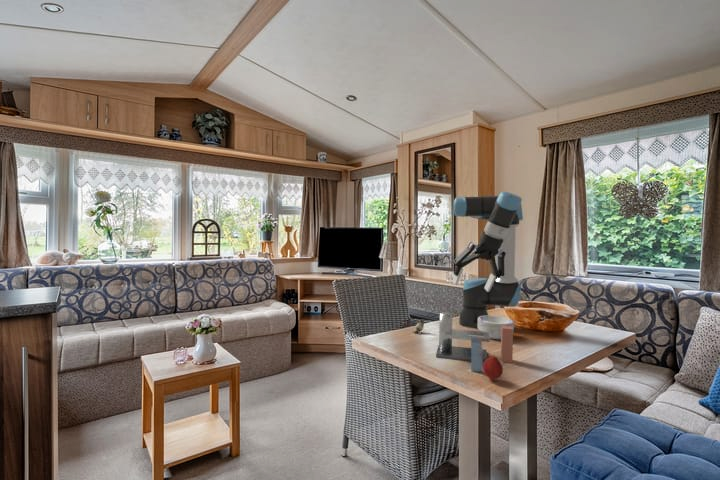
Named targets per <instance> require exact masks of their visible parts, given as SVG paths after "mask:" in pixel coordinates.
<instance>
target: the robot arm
mask: <svg viewBox="0 0 720 480" xmlns="http://www.w3.org/2000/svg"><path fill="white" fill-rule="evenodd" d="M453 215H454V216H455V217H462V218H465V217H466V218H467V217H469V218H472V219H476V220H482V221H487V222H486V224H485V226H484V229H483V232H482V234H481V236H480V238H479V242H478V243H477V244H475V243H473V242H469V243H468V245H467V247H466V248H465V249H464V250H463V251H462V252H461V253H459V255H458V256H457V257H455V259H453V261H452V263H453V265H455V269H454V271H453V274H454V275H453V278H452V281H451V282H452V283H453V284H454V285H455V286H457V285H458V283H459V280H460V278H461V277H462V275H463V271H464V267H466V266H468V265H469V264H470V263H472V262H474V261H476V260H479V259H481V260H486V261H489V263H490V268H491V269H492V270H491V271H492V273H490V274H489V276H488V278H485V277H484V278H483V277H479V278H477V277H476V278H469V279H466V280H464V282H463V286H462V287H463V288H462V293H463V294H462V310H461V313H460V315H459V319H458V324H459V325H461V326H462V327H468V328H474V329H478V327H477V326H478V317H480V316H486V315H489V312H488V306H496V307H497V306H498V307H507V308H508V307H513V308H514V307H517V306H518V305H519V302H520V296H521V290H522V289H521V288H522V284H521V283H519V280H518V278H516V276H515V275H516V274H515V273H516V272H515V269H516V266H515V265H516V264H515V262H516V233H517V232H516V231H517V229H516V228H517V227H518V226H519V225H520V221H523V219H524V216H523V207H522V197H521V196H519V195H517V194H514V193H513V192H512V193H511V192H509V191H505V190H504V191H501V192H500V193H499V195H484V196H462V197H461V196H460V197H455V198H454V200H453Z"/></svg>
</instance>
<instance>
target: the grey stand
mask: <svg viewBox="0 0 720 480" xmlns="http://www.w3.org/2000/svg"><path fill="white" fill-rule="evenodd" d="M438 320H439V321H438V322H439V327H438V328H439V331H438V334H439V335H438V345H437V346H438V347H437V349H436V353H435V358H441V359H450V360H451V359H452V360H460V361H461V360H462V361H469V362H470V372H473V373H474V372H476V373H483V363H484V362H485V360H486V359H488V358H489V357H488V352H487V349H484V348H483V342H485V343H490V340H491V338H489V334H488V332H482V331H481V330H478V331H477V330H469V329H468V330H466V329H457V328H453V313H451V312H445V311H443V312H439V319H438ZM453 339H454V340H464V341H465V340H466V341H470V347H465V346H464V347H463V346H453Z"/></svg>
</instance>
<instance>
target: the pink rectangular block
mask: <svg viewBox="0 0 720 480" xmlns="http://www.w3.org/2000/svg"><path fill="white" fill-rule="evenodd" d="M513 346H514V331H513V328H512V327H508V326H502V327H501V339H500V362H503V363H508V364H512V363H513V356H514V355H513V348H514V347H513Z"/></svg>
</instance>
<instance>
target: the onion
mask: <svg viewBox="0 0 720 480" xmlns="http://www.w3.org/2000/svg"><path fill="white" fill-rule="evenodd" d="M503 371H504V370H503V364H502V363H501V360H499V359H498V358H497V357H496V356H495V355H494V354H491V355H490V357H488V359H486V360H485V362H483V365H482V372H483V373H484V375H485V376H487V378H489V380H490V381H496V380H497V379H499V378H500V377H501V376H502V375H503Z"/></svg>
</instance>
